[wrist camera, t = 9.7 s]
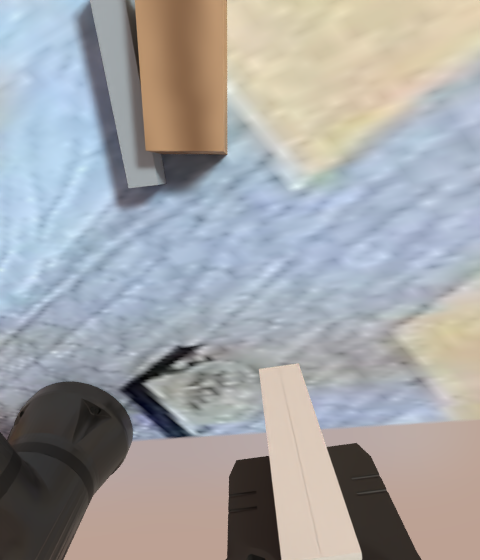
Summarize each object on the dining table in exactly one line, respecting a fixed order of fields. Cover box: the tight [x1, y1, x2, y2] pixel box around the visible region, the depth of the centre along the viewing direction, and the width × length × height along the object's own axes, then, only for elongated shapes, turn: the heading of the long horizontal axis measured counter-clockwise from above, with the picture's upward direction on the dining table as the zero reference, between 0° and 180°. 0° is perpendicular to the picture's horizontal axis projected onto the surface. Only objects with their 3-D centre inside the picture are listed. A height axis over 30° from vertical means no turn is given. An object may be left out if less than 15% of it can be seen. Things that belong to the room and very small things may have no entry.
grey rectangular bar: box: [90, 0, 166, 188], centre depth 32 cm, size 3×18×4 cm, turn 6°
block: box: [135, 0, 227, 155], centre depth 30 cm, size 7×14×6 cm, turn 179°
